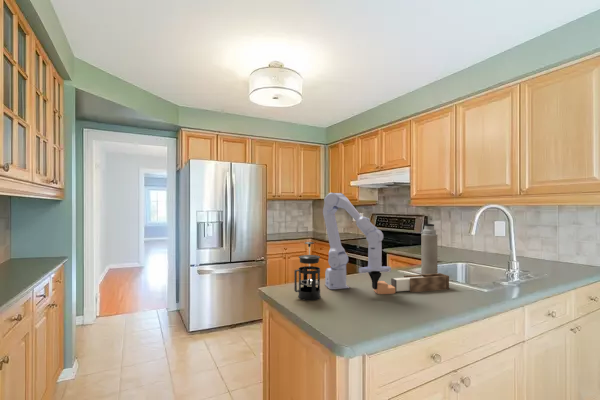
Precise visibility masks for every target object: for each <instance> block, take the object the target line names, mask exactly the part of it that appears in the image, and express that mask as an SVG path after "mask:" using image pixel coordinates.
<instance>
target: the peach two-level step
mask: <svg viewBox="0 0 600 400" xmlns="http://www.w3.org/2000/svg"><path fill="white" fill-rule="evenodd" d="M373 291H374V292H375V294H377V295H386V294H387V295H388V294H390V295H391V294H396V292H395V287H393V286H392V285H391V284H389V283H387V282H386V281H385V280H378V283H377V289H373Z"/></svg>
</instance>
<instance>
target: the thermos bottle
mask: <svg viewBox="0 0 600 400" xmlns="http://www.w3.org/2000/svg"><path fill="white" fill-rule="evenodd" d="M420 236H421V245H420V247H421V253H420V255H421V256H420V258H421V265H420V267H421V271H420V272H421V274H436V273H438V274H439V272H438V268H439V267H438V234H437V230H436V229H435V224H433V223H425V224H424V228H423V229H422V233H421V235H420Z"/></svg>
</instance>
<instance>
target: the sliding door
mask: <svg viewBox="0 0 600 400" xmlns="http://www.w3.org/2000/svg"><path fill="white" fill-rule="evenodd" d="M422 277H423V276H422ZM410 278H418V277H407V278H404V277H394V278H391V279H390V281H391V282H390V285H392V286H393V287H395V293H396V292H407V291H408V292H410Z"/></svg>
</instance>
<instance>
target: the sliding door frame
mask: <svg viewBox="0 0 600 400" xmlns="http://www.w3.org/2000/svg"><path fill="white" fill-rule="evenodd" d="M422 276H423V277H422ZM407 277H418V278H410V290H409V292H410V293H420V292H429V291H430V292H431V291H432V292H433V291H442V290H443V291H444V290H450V275H448V274H444V273H441V272H438V273H436V274H406V275H405V274H404V275H403V278H407Z"/></svg>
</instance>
